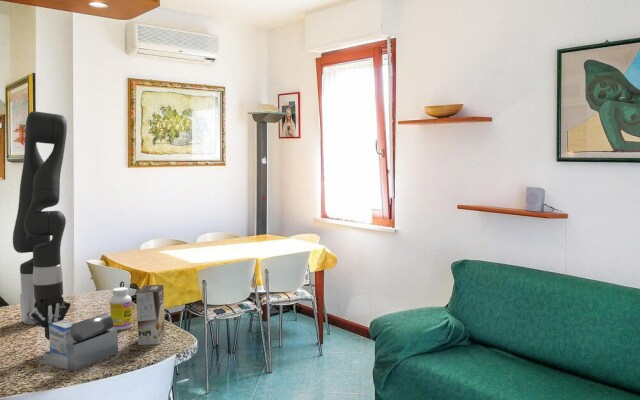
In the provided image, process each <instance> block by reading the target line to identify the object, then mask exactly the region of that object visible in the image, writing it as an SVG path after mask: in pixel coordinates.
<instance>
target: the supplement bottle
mask: <svg viewBox="0 0 640 400" xmlns="http://www.w3.org/2000/svg"><path fill="white" fill-rule="evenodd" d="M128 293H129V288H127V287H124V286H122V287H121V286H120V287H115V288H113V289H112V294H113V296H111V297H110V299H109V309H110V313H109V315H110V316H111V318H112V320H113V329H117V331H121V330H128V329H130V328H131V327H133V307H132V306H133V305H132V304H133V303H132V301H133V300H132V296H130V295H128Z"/></svg>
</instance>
